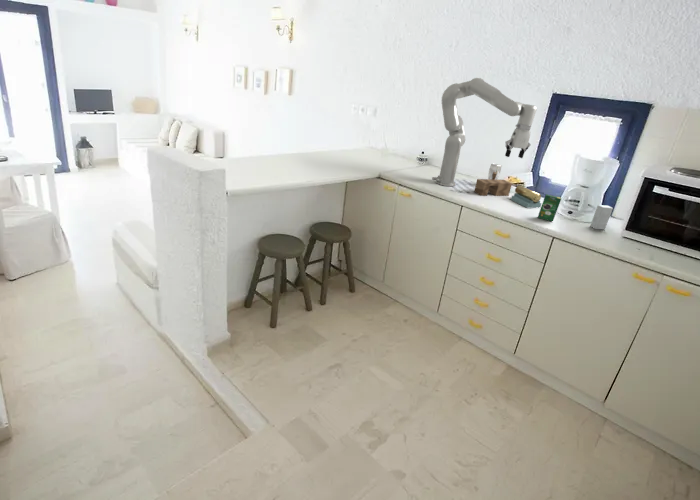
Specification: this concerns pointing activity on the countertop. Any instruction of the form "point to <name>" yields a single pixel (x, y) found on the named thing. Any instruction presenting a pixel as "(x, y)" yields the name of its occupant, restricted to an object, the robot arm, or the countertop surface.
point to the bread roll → (528, 193)
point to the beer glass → (494, 171)
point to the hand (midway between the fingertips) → (513, 157)
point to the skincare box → (601, 217)
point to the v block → (525, 201)
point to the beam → (492, 187)
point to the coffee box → (549, 207)
